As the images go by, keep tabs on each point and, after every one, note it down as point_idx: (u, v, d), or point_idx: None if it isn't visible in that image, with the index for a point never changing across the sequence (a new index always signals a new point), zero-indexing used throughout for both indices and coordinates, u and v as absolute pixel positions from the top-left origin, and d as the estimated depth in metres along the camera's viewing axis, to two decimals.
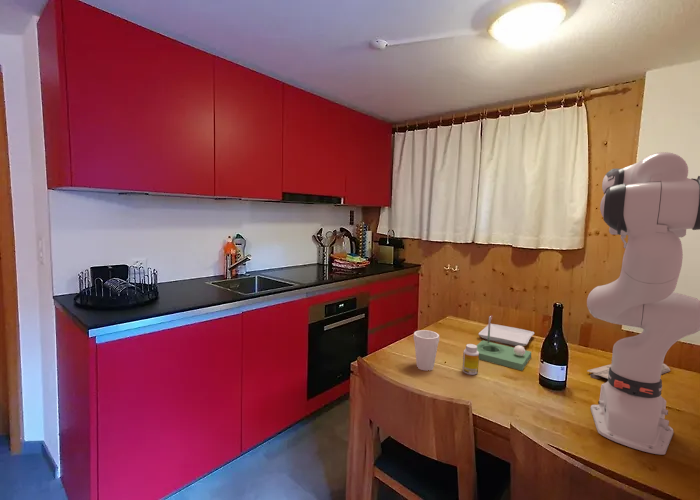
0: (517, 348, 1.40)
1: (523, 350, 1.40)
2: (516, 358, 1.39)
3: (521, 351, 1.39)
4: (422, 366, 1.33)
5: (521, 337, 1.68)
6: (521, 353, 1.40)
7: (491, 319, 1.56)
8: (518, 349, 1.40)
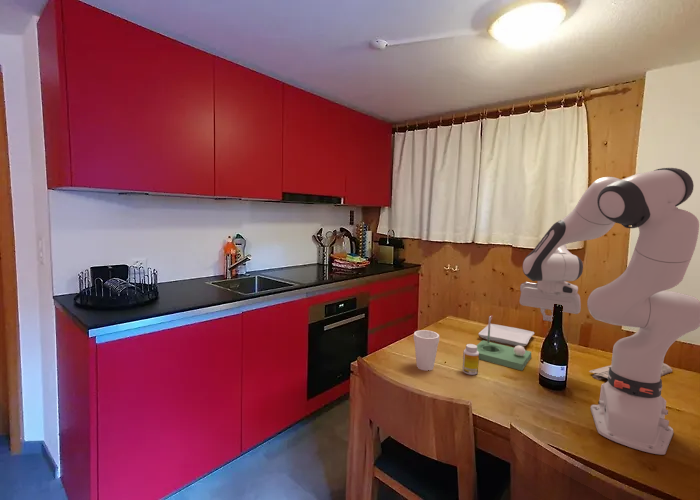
0: (517, 348, 1.40)
1: (523, 350, 1.40)
2: (516, 358, 1.39)
3: (521, 351, 1.39)
4: (422, 366, 1.33)
5: (521, 337, 1.68)
6: (521, 353, 1.40)
7: (491, 319, 1.56)
8: (518, 349, 1.40)
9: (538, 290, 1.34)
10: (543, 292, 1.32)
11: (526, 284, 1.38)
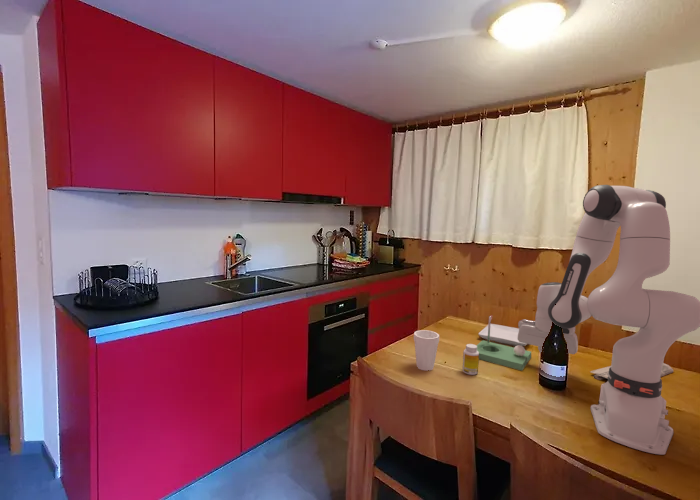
0: (517, 348, 1.40)
1: (523, 350, 1.40)
2: (516, 358, 1.39)
3: (521, 351, 1.39)
4: (422, 366, 1.33)
5: None
6: (521, 353, 1.40)
7: (491, 319, 1.56)
8: (518, 349, 1.40)
9: (536, 328, 1.36)
10: (541, 331, 1.34)
11: (524, 322, 1.40)
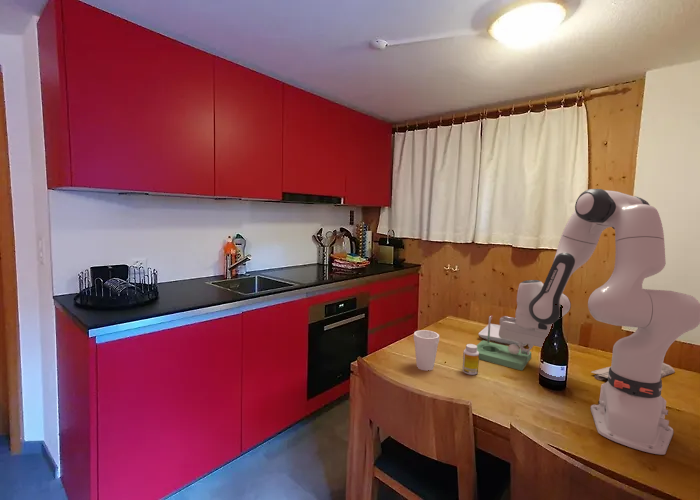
0: (509, 348, 1.42)
1: (514, 345, 1.42)
2: (516, 358, 1.39)
3: (513, 347, 1.41)
4: (422, 366, 1.33)
5: None
6: (515, 349, 1.41)
7: (491, 319, 1.56)
8: (510, 348, 1.42)
9: (516, 325, 1.40)
10: (520, 327, 1.38)
11: (505, 318, 1.44)
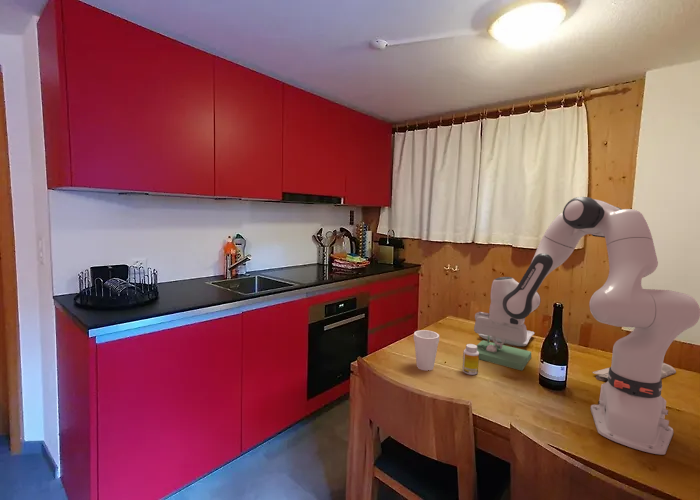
0: (491, 348, 1.47)
1: None
2: (516, 358, 1.39)
3: None
4: (422, 366, 1.33)
5: None
6: None
7: None
8: (491, 350, 1.47)
9: (490, 320, 1.46)
10: (494, 322, 1.44)
11: (480, 314, 1.50)
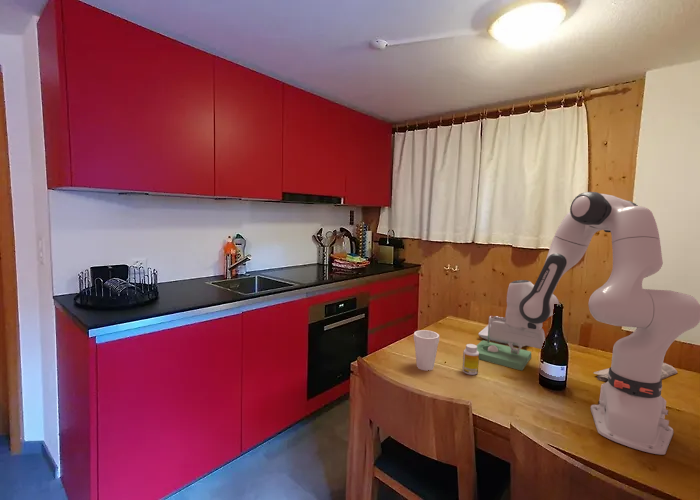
0: (494, 350, 1.46)
1: None
2: (516, 358, 1.39)
3: None
4: (422, 366, 1.33)
5: None
6: None
7: None
8: None
9: (506, 324, 1.42)
10: (510, 327, 1.40)
11: (495, 318, 1.46)
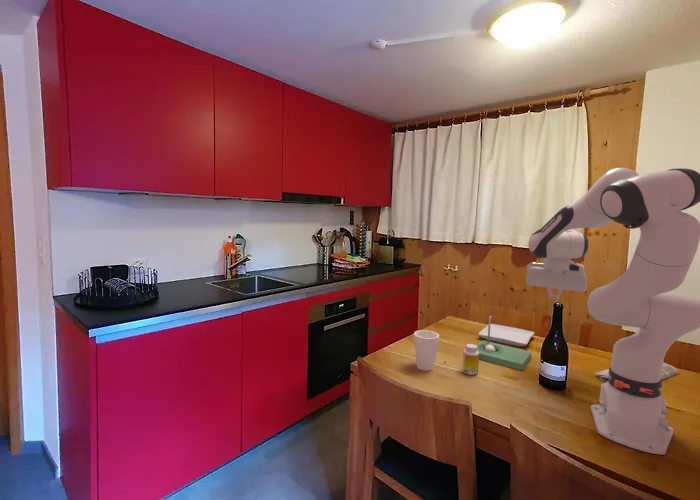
0: (489, 348, 1.47)
1: None
2: (516, 358, 1.39)
3: None
4: (422, 366, 1.33)
5: (521, 337, 1.68)
6: None
7: (491, 319, 1.56)
8: (490, 350, 1.47)
9: (545, 269, 1.36)
10: (550, 271, 1.34)
11: (532, 265, 1.40)
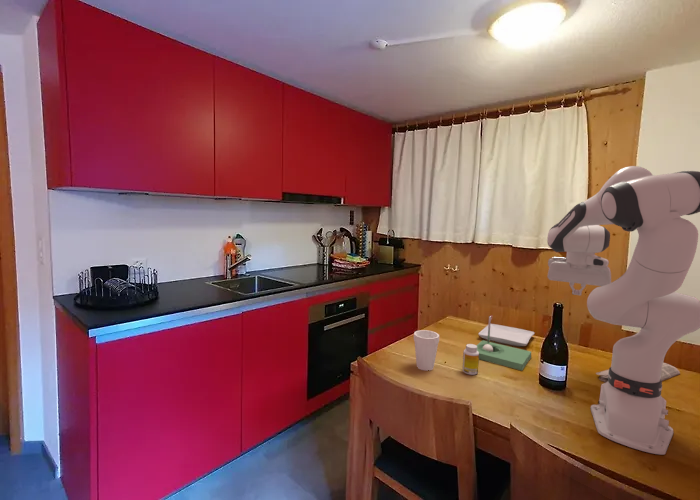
0: (486, 348, 1.48)
1: (491, 349, 1.47)
2: (516, 358, 1.39)
3: (490, 350, 1.47)
4: (422, 366, 1.33)
5: (521, 337, 1.68)
6: None
7: (491, 319, 1.56)
8: (487, 349, 1.47)
9: (567, 264, 1.34)
10: (573, 266, 1.32)
11: (554, 259, 1.37)
